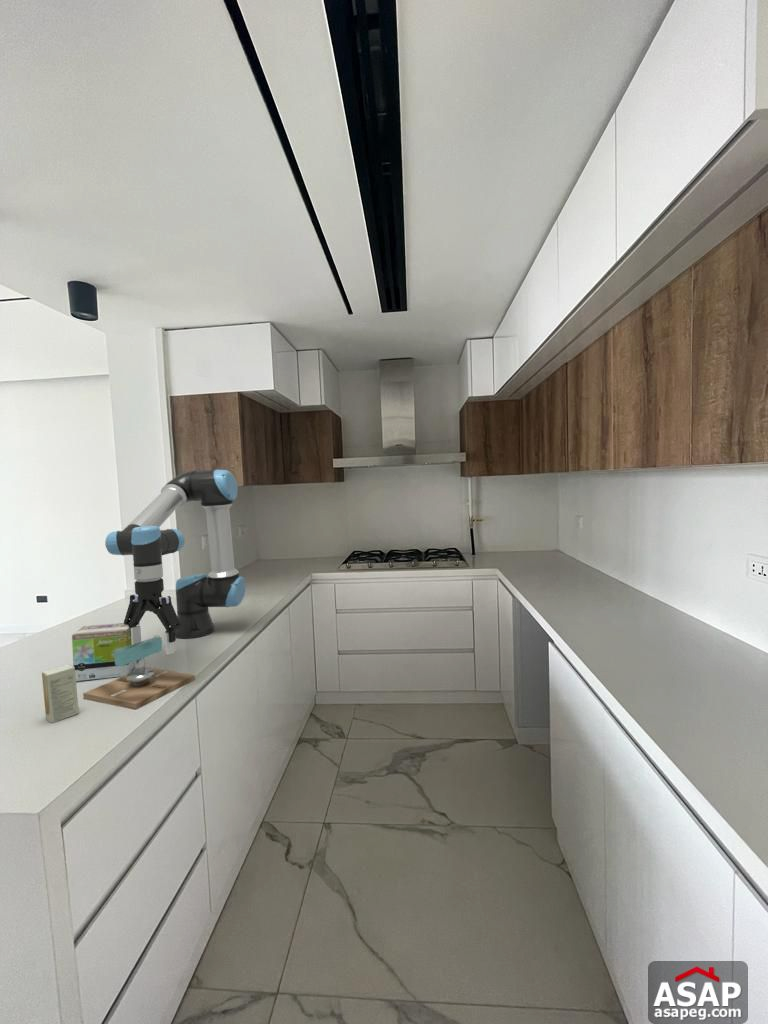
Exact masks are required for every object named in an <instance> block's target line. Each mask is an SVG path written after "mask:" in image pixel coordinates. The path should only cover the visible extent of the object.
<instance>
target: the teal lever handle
mask: <svg viewBox="0 0 768 1024" xmlns="http://www.w3.org/2000/svg"><path fill="white" fill-rule="evenodd" d="M162 641H163V640H162V637H161V635H160V634H154V637H151V638H148V639H145V640H141V642H139V643H136V644H133V645H130V646H127V647H124V648H121V649H118V650H115V651H114V654H115V665H117V666H123V665H126V664H128V663H131V662H134V661H135V667H134V668H135V670H132V671H131V672H130V673H129V674H127V681H128V682H141V681H145V680H148V679H151V678H152V677H154V670H153V669H145V667H146V663H145V658H147V657H149V656H153V655H155V654H158V653H160V652H163V644H162V643H163V642H162Z"/></svg>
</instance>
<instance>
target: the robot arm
mask: <svg viewBox="0 0 768 1024" xmlns="http://www.w3.org/2000/svg"><path fill="white" fill-rule="evenodd" d="M238 492H239V490H238V482H237V480H236V478H235V476H234V475H233V473H232V472H231V471H229V470H226V469H208V470H190V471H185V472H183V473H181V474H179V475H177V476H176V477H173V478H171V480H169V481H168V482H167V483H166V484H165V485H164V486H163V487H162V488H161V490H160V493H159V494H158V496H156V497H155V498H154V499H153V500H152V502H151V501H150V503H149V504H148V505H147V506H146V507H145V508H144V509H143V510H142V511H141V512H139V514H138V515H137V516H136V517H135V518H134V519H133V520H132V521H131V522H130V523H128V525H127V526H126V527H125V528H123V530H121V531H120V530H116V531H112V532H109V533H108V534H107V536H106V537H105V544H104V545H105V548H106V550H107V552H108V553H109V554H111V555H112V556H113V555H115V556H132V558H133V559H132V561H133V563H132V564H133V576H134V580H135V581H134V594H131V595H130V596H129V603H128V606H127V610H126V613H125V616H124V619H123V623H124V624H125V625H128V626H129V627H130V636H131V641H132V645H133V644H136V643H139V642H142V633H141V632H142V631H141V630H142V629H141V625H140V622H141V620H142V618H143V616H144V615H145V613H146V612H151V613H153V614H155V615H156V616H157V618H158V619H159V621H160V622H161V624H162V626H163V627H164V629H165V631H164V643H165V644H164V645H165V655H167V656H169V655H170V654H173V653H175V652H176V641H177V640H176V639H177V638H178V639H193V638H200V636H201V637H204V636H207V634H208V635H209V633H210V634H212V633H214V631H215V624H214V622H213V620H212V617H211V614H210V612H209V611H210V610H209V608H233V607H234V608H235V607H238V606H239V605H240V604H242V601H243V600H244V597H245V594H246V588H247V584H246V583H247V582H246V579H245V577H243V576H240V572H239V570H238V569H237V568H235V559H234V557H235V556H234V549H233V548H234V547H233V535H232V526H231V516H230V515H231V514H230V513H231V512H230V508H231V507H232V506H233V504H234V500H235V499H236V498H237V497H238ZM189 502H200V505H201V506H200V507H202V508H203V509H204V510H205V514H206V515H205V516H206V524H207V525H206V526H207V536H208V545H209V546H208V547H209V548H208V549H209V558H210V568H211V571H210V572H209V573H208V574H207V573H204V572H203V573H197V574H191V575H186V576H183V577H179V578H178V579H176V582H175V589H174V590H175V597H176V598H175V599H176V601H175V602H176V610H175V608H174V605H173V604H172V597H171V596H170V595H167V596H163V594H162V593H163V591H164V590H165V586H164V584H165V583H164V579H163V577H164V569H163V556H165V555H169V554H174V553H176V552H179V551H181V549H182V548H183V547H184V545H185V539H186V538H185V537H184V535H183V533H182V532H181V531H180V530H179V529H176V528H166V529H161V528H160V527H161V526H162V525H163V524H164V523H165V522H166V521H167V520H168V518H170V516H172V514H173V513H175V511H176V510H177V509H178V508H181V507H183V506H184V505H185V504H187V503H189ZM211 632H212V633H211Z"/></svg>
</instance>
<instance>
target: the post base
mask: <svg viewBox="0 0 768 1024" xmlns="http://www.w3.org/2000/svg"><path fill="white" fill-rule="evenodd" d="M145 669H153V670H154V677H152V678H151V679H148V680H145V681H141V682H128V681H127V675H126V676H123V677H117V678H116V679H114V680H112V681H110V682H107V683H105V684H102V685H99V686H98V687H94V688H93V689H90V690H88V691H85V692H83V693H82V697H83V699H84V700H87V701H93V702H98V703H103V704H107V705H111V706H117V707H118V706H119V707H121V706H122V708H126V707H127V708H128V709H131V710H138V709H139V707H140V708H141V707H143V705H144V706H146V705H147V704H149V703H151V702H153V701H155V700H158V699H159V698H161V697H163V696H165V695H167V694H169V693H171V692H174V691H176V690H177V689H179V688H181V687H184V686H185V685H187V684H189V683H190V682H193V681H195V678H196V677H195V674H193V673H192V674H191V673H185V672H179V671H172V670H166V669H161V668H154V667H153V668H152V667H147V666H145Z"/></svg>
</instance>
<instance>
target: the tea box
mask: <svg viewBox="0 0 768 1024" xmlns="http://www.w3.org/2000/svg"><path fill="white" fill-rule="evenodd" d="M71 640H72V641H71V642H72V643H71V646H72V661H73V662H72V664H73V665H72V666H73V667H75V677H76V683H77V682H82V681H91V680H98V679H99V680H100V679H109V678H111V679H112V678H121V677H123V676H126V675H127V674H129V673H130V672H133V671H134V670H133V669H134V668H135V661H134V662H131V663H128V664H126V665H123V666H117V665H115V654H114V651H115V650H118V649H121V648H124V647H127V646H130V645H132V641H131V636H130V627H129V626H128V625H125V624H124V622H121V623H120V622H119V623H107V624H106V623H105V624H95V625H94V624H93V625H83V626H82V627H80V629H78V630H77V631H75V633H73V634H72V635H71Z"/></svg>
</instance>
